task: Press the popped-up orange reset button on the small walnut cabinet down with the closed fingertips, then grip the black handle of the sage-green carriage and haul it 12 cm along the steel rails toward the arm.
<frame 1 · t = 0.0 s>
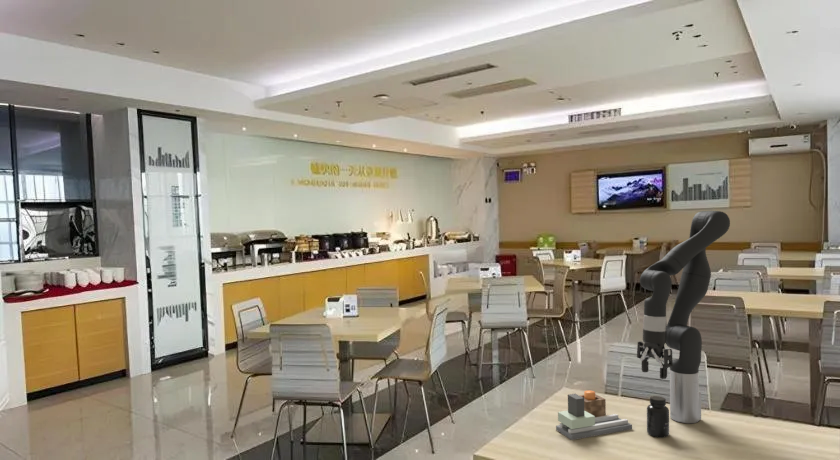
hand: (653, 375, 189), 17 cm above the table, tool pointing down, fingers open, 8 cm apart
supplement bottle: (658, 434, 182), on the table
reset button: (589, 397, 196), point 8 cm above the table, slide at 0.0 cm
track: (594, 429, 186), on the table
carriage: (576, 409, 184), point 8 cm above the table, slide at 0.0 cm
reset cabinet: (590, 418, 197), on the table
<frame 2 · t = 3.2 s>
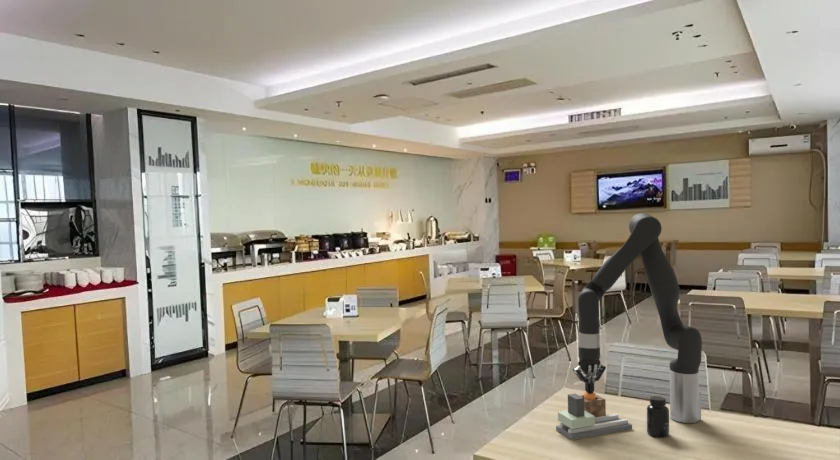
hand: (589, 392, 196), 9 cm above the table, tool pointing down, fingers closed
reset button: (589, 398, 196), point 7 cm above the table, slide at 0.3 cm, touching gripper
everything else where it was.
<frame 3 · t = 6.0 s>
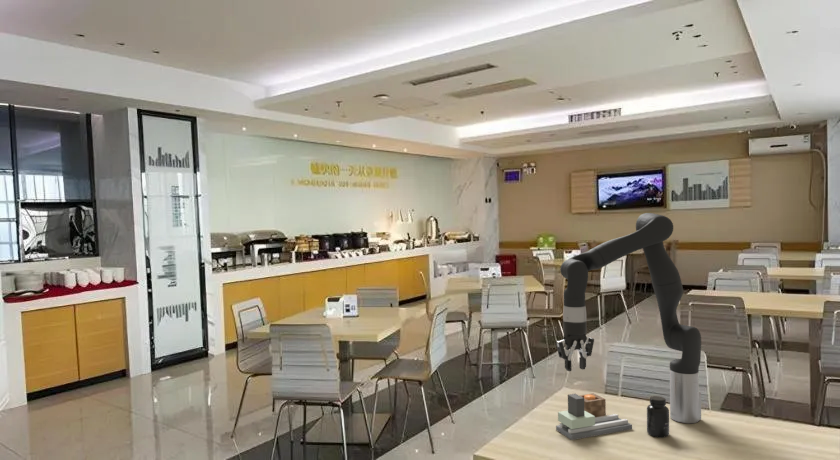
hand: (575, 369, 184), 21 cm above the table, tool pointing down, fingers open, 4 cm apart
reset button: (589, 401, 196), point 6 cm above the table, slide at 1.5 cm, touching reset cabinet
everything else where it was.
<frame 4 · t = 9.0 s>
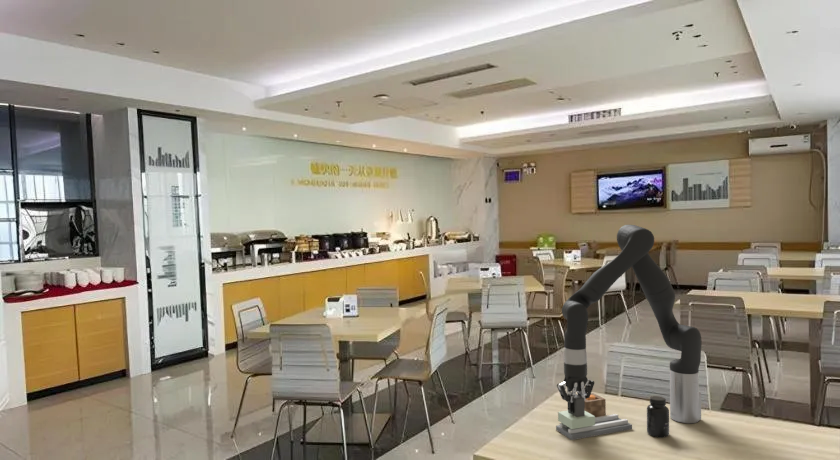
hand: (576, 411, 184), 7 cm above the table, tool pointing down, fingers closed on carriage, 3 cm apart
carriage: (576, 409, 184), point 8 cm above the table, slide at 0.0 cm, touching gripper
everything else where it was.
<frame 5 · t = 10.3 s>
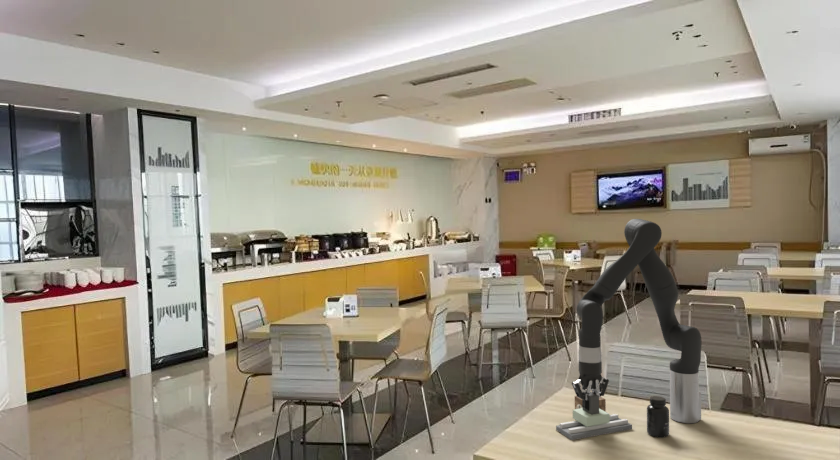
hand: (590, 409, 186), 7 cm above the table, tool pointing down, fingers closed on carriage, 3 cm apart
carriage: (590, 407, 186), point 8 cm above the table, slide at 5.8 cm, touching gripper
everything else where it was.
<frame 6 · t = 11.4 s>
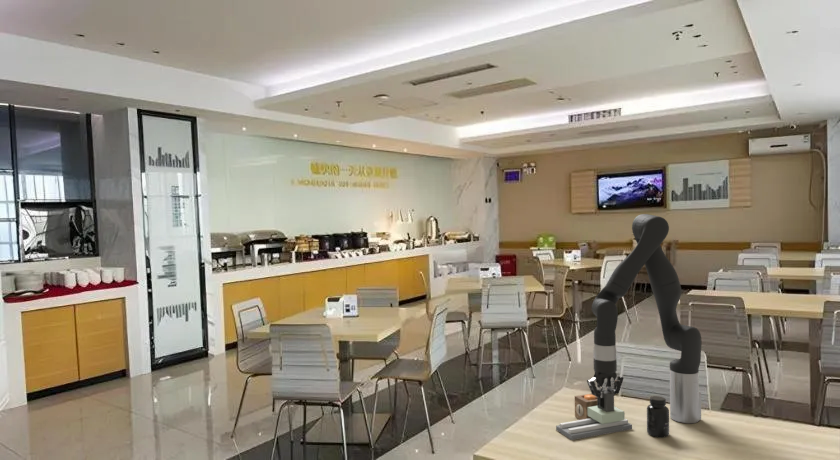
hand: (605, 406, 188), 7 cm above the table, tool pointing down, fingers closed on carriage, 3 cm apart
carriage: (605, 404, 188), point 8 cm above the table, slide at 11.9 cm, touching gripper
everything else where it was.
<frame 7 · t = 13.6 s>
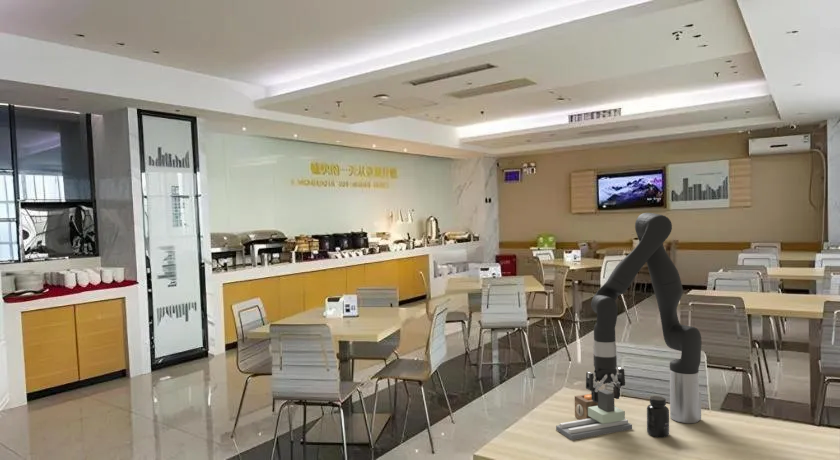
hand: (605, 400, 188), 9 cm above the table, tool pointing down, fingers open, 8 cm apart
carriage: (606, 404, 188), point 8 cm above the table, slide at 12.0 cm
everything else where it was.
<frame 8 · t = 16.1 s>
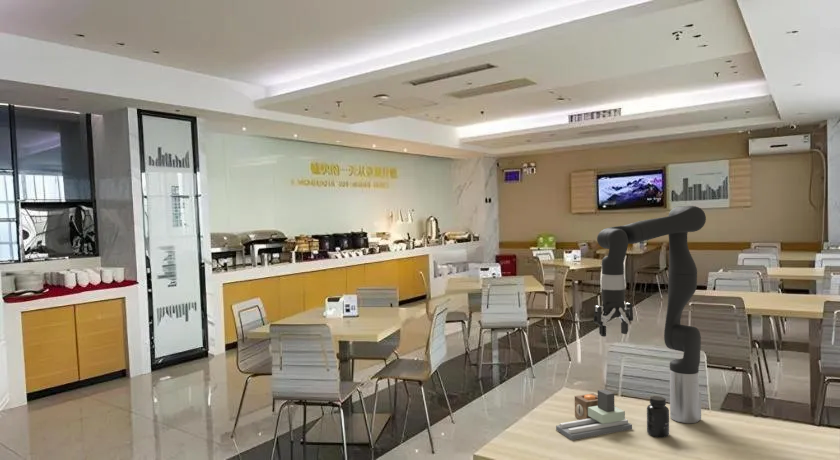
hand: (613, 335, 186), 32 cm above the table, tool pointing down, fingers open, 8 cm apart
nothing on the table moved.
at the end: carriage slide at 12.0 cm; reset button slide at 1.5 cm; supplement bottle moved 0.2 cm from its start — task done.
